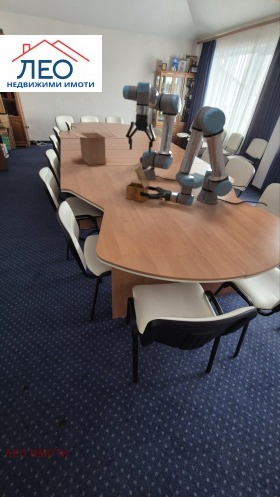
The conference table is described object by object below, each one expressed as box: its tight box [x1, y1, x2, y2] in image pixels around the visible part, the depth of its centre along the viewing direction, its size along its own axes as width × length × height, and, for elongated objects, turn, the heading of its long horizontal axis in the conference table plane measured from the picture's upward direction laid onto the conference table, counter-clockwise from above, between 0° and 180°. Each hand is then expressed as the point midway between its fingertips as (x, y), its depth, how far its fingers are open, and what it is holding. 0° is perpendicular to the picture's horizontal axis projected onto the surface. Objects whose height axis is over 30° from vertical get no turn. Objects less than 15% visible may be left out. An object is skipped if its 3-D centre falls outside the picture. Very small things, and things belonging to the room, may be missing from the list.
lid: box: [134, 165, 151, 189], centre depth 155 cm, size 14×10×9 cm
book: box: [189, 172, 205, 189], centre depth 200 cm, size 23×16×5 cm
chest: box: [126, 181, 150, 203], centre depth 164 cm, size 14×10×9 cm
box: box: [70, 129, 114, 166], centre depth 229 cm, size 44×36×27 cm
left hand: (140, 150), depth 147 cm, fingers open, 13 cm apart
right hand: (143, 190), depth 162 cm, fingers open, 13 cm apart
